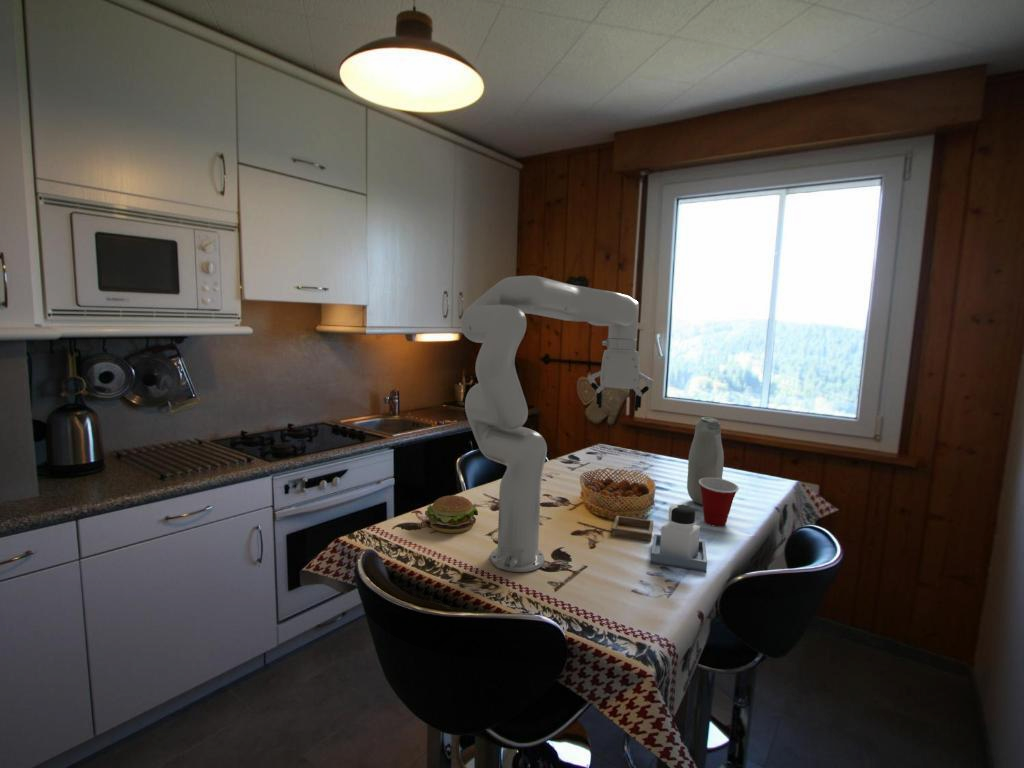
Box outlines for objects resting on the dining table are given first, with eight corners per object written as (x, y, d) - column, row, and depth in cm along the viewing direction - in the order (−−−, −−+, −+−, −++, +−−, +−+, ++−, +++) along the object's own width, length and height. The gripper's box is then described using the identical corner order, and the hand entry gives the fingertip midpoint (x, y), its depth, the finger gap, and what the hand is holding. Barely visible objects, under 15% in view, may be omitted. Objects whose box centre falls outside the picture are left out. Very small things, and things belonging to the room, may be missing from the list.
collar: (650, 541, 137) (651, 534, 137) (611, 535, 140) (611, 528, 140) (653, 527, 147) (653, 520, 147) (616, 522, 150) (616, 515, 150)
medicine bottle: (698, 553, 130) (702, 506, 128) (687, 563, 124) (691, 514, 123) (670, 545, 134) (673, 499, 133) (659, 554, 128) (662, 506, 127)
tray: (706, 572, 121) (707, 562, 121) (650, 563, 125) (651, 553, 124) (704, 550, 133) (705, 541, 132) (653, 543, 136) (654, 533, 136)
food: (414, 525, 143) (415, 497, 142) (455, 513, 153) (455, 486, 152) (446, 541, 133) (446, 511, 132) (487, 527, 143) (487, 499, 142)
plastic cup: (711, 531, 145) (714, 489, 144) (687, 517, 156) (691, 478, 154) (744, 528, 148) (747, 487, 147) (718, 515, 159) (722, 476, 157)
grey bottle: (726, 507, 166) (733, 419, 163) (700, 510, 163) (707, 421, 159) (704, 497, 176) (710, 414, 172) (679, 499, 172) (685, 415, 169)
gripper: (587, 344, 140) (584, 408, 142) (654, 347, 134) (650, 413, 136) (592, 343, 147) (588, 404, 149) (656, 346, 142) (651, 409, 144)
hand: (618, 408), depth 143 cm, fingers open, 9 cm apart
